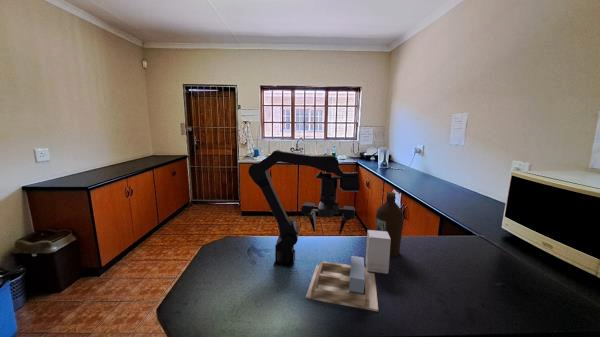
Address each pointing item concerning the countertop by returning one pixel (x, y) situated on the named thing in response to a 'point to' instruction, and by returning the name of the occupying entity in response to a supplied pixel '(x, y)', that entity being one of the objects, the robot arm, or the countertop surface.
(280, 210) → the robot arm
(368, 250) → the supplement box
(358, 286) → the grey rectangular block
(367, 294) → the divided wooden tray
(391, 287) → the countertop surface
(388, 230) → the olive oil
